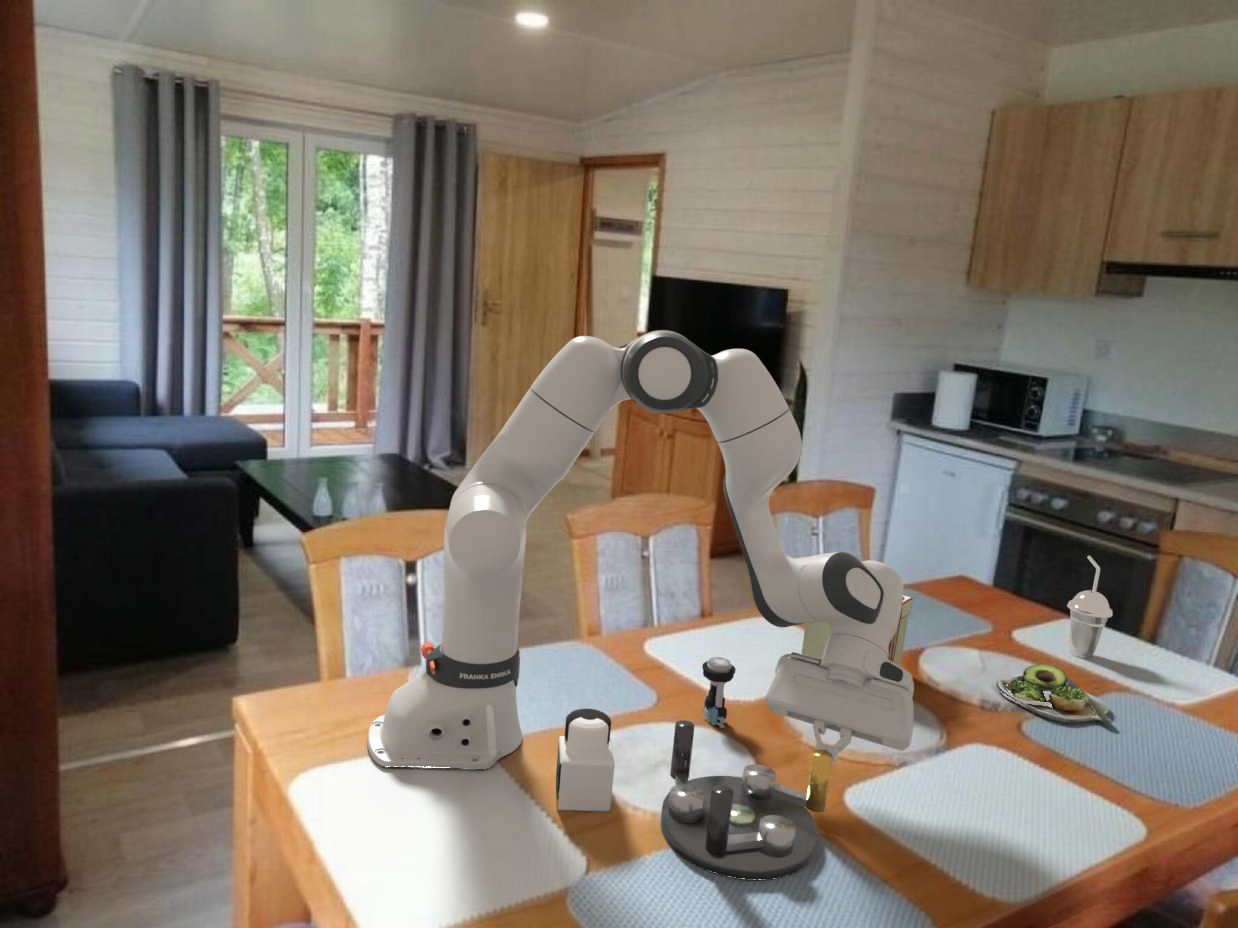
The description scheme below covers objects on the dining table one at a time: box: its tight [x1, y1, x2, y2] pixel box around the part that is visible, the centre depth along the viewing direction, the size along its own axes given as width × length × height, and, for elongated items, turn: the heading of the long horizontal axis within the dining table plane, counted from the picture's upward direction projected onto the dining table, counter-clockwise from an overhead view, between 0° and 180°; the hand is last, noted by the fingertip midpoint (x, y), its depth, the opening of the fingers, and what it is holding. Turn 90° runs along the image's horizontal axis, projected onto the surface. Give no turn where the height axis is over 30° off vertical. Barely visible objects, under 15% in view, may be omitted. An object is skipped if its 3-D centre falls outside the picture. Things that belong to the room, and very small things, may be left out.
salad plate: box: [996, 663, 1112, 724], centre depth 168 cm, size 19×18×5 cm
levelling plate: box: [660, 775, 818, 881], centre depth 121 cm, size 20×20×3 cm
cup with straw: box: [1066, 555, 1114, 660], centre depth 192 cm, size 8×9×20 cm
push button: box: [701, 656, 736, 729], centre depth 150 cm, size 7×5×10 cm
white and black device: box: [555, 708, 615, 813], centre depth 125 cm, size 7×7×12 cm
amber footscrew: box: [741, 749, 833, 813], centre depth 124 cm, size 12×4×8 cm, turn 62°
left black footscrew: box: [668, 719, 704, 823], centre depth 123 cm, size 12×4×8 cm, turn 2°
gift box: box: [800, 594, 914, 667], centre depth 175 cm, size 17×18×17 cm
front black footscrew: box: [705, 785, 796, 857], centre depth 113 cm, size 12×4×8 cm, turn 107°
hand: (824, 758), depth 126 cm, fingers closed
